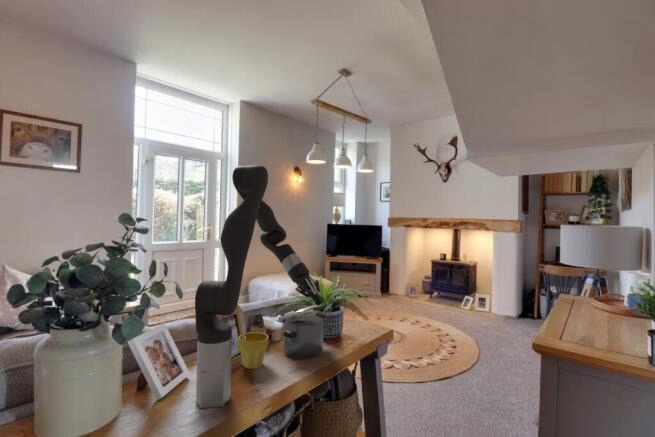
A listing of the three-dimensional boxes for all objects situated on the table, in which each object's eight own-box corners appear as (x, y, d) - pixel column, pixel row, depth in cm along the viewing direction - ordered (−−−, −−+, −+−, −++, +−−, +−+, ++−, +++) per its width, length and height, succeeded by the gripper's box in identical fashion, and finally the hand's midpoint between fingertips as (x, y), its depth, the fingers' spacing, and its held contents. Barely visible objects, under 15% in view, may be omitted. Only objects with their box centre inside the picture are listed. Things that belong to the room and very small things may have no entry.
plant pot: (273, 360, 124) (273, 333, 124) (259, 373, 114) (260, 343, 114) (247, 356, 127) (247, 330, 126) (231, 368, 117) (232, 339, 117)
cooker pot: (333, 347, 137) (333, 316, 137) (303, 365, 121) (304, 330, 121) (299, 338, 146) (299, 309, 146) (267, 353, 130) (268, 321, 130)
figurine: (260, 338, 146) (261, 309, 146) (269, 343, 141) (270, 313, 141) (245, 341, 141) (246, 312, 141) (254, 347, 136) (255, 316, 136)
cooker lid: (333, 304, 134) (332, 299, 135) (311, 313, 122) (310, 307, 122) (300, 311, 143) (299, 306, 143) (277, 319, 131) (275, 314, 131)
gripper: (290, 263, 128) (316, 301, 122) (310, 260, 139) (336, 294, 133) (278, 276, 131) (304, 313, 125) (299, 271, 142) (324, 306, 136)
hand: (320, 303), depth 129 cm, fingers closed
